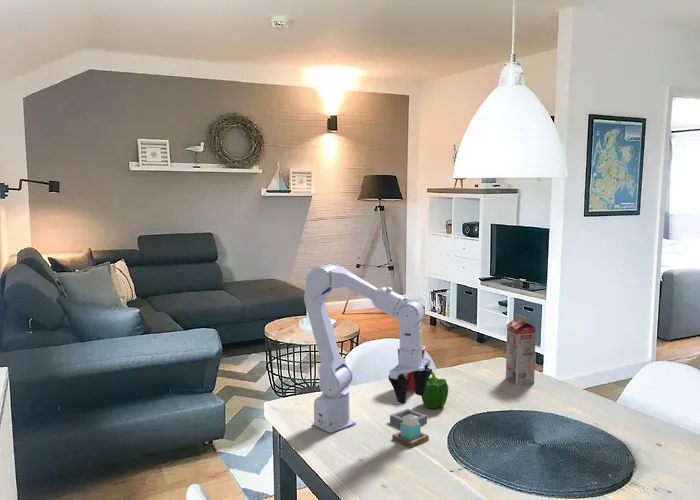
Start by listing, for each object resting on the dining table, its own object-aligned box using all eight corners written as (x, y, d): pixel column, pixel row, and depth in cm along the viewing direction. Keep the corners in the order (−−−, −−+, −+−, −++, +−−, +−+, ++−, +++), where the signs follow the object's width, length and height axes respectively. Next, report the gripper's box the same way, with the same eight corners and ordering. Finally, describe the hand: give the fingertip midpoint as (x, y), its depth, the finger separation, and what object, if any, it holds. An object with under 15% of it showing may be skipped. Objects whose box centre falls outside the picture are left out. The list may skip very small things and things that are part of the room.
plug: (410, 444, 150) (410, 420, 149) (400, 439, 153) (400, 416, 152) (420, 440, 152) (420, 417, 152) (410, 435, 155) (410, 412, 154)
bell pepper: (448, 412, 171) (448, 378, 169) (419, 410, 172) (419, 377, 171) (448, 401, 179) (448, 369, 178) (420, 400, 180) (421, 368, 179)
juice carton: (516, 384, 193) (517, 318, 190) (505, 378, 199) (507, 314, 197) (534, 383, 194) (536, 317, 192) (523, 376, 201) (525, 313, 198)
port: (408, 430, 158) (408, 421, 158) (390, 422, 164) (390, 414, 164) (427, 422, 163) (427, 414, 163) (408, 415, 168) (408, 407, 168)
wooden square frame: (410, 447, 148) (410, 443, 148) (392, 439, 153) (392, 434, 153) (428, 440, 152) (428, 435, 152) (410, 432, 157) (410, 427, 157)
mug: (396, 383, 195) (396, 343, 194) (423, 382, 195) (423, 343, 194) (398, 396, 183) (398, 354, 181) (428, 396, 183) (428, 354, 181)
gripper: (405, 357, 144) (405, 410, 146) (439, 345, 155) (439, 395, 156) (383, 351, 149) (383, 403, 151) (418, 340, 160) (418, 388, 161)
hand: (410, 398), depth 154 cm, fingers open, 7 cm apart
